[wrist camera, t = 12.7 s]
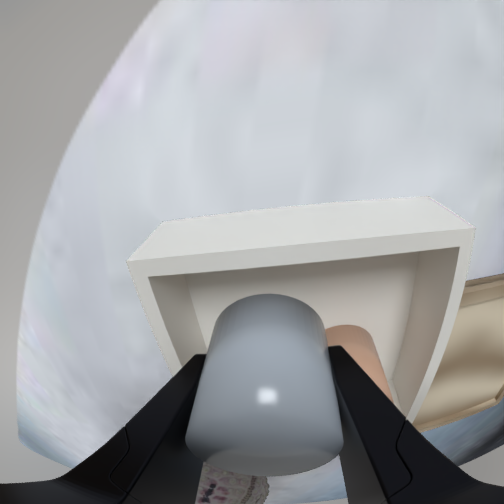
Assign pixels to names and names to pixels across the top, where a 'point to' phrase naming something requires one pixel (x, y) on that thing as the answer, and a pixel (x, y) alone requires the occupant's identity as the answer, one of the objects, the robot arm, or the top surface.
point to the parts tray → (469, 358)
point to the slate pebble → (266, 391)
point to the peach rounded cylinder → (360, 351)
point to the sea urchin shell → (230, 487)
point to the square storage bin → (316, 277)
